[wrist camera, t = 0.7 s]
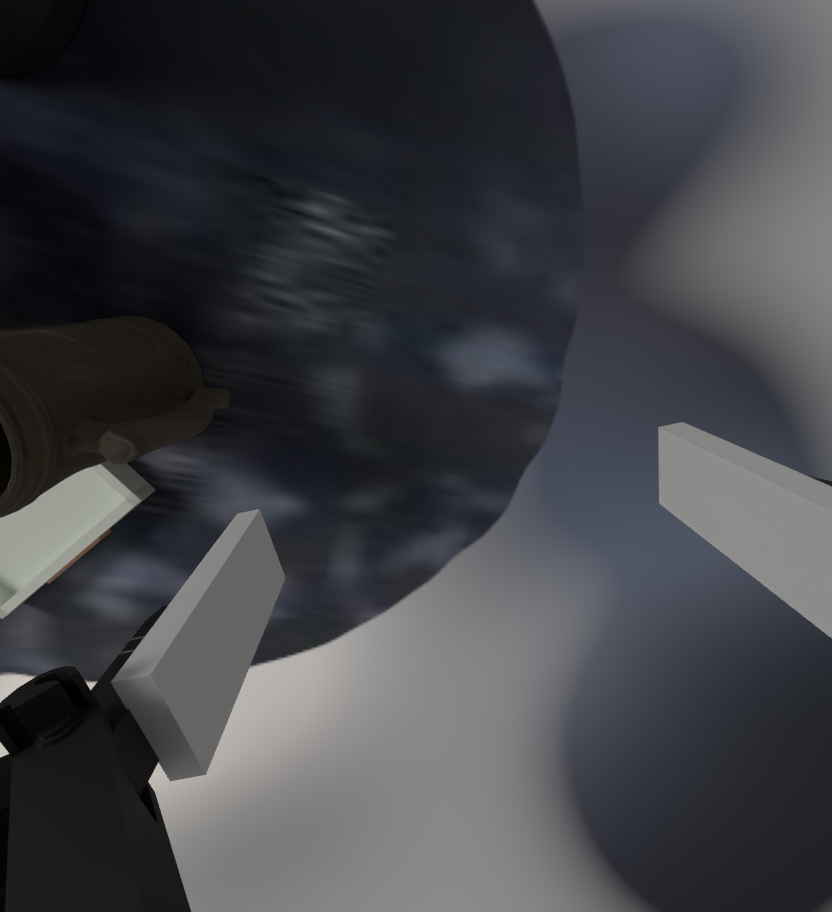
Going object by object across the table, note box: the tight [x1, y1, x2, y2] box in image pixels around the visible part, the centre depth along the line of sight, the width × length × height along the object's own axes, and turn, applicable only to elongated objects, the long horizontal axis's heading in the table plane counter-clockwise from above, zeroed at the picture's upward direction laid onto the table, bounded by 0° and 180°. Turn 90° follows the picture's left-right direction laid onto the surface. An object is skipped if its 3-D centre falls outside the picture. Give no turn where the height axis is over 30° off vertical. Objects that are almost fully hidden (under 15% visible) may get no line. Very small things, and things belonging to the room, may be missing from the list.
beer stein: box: [0, 315, 229, 518], centre depth 30 cm, size 15×11×20 cm
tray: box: [0, 460, 156, 619], centre depth 41 cm, size 17×21×2 cm
